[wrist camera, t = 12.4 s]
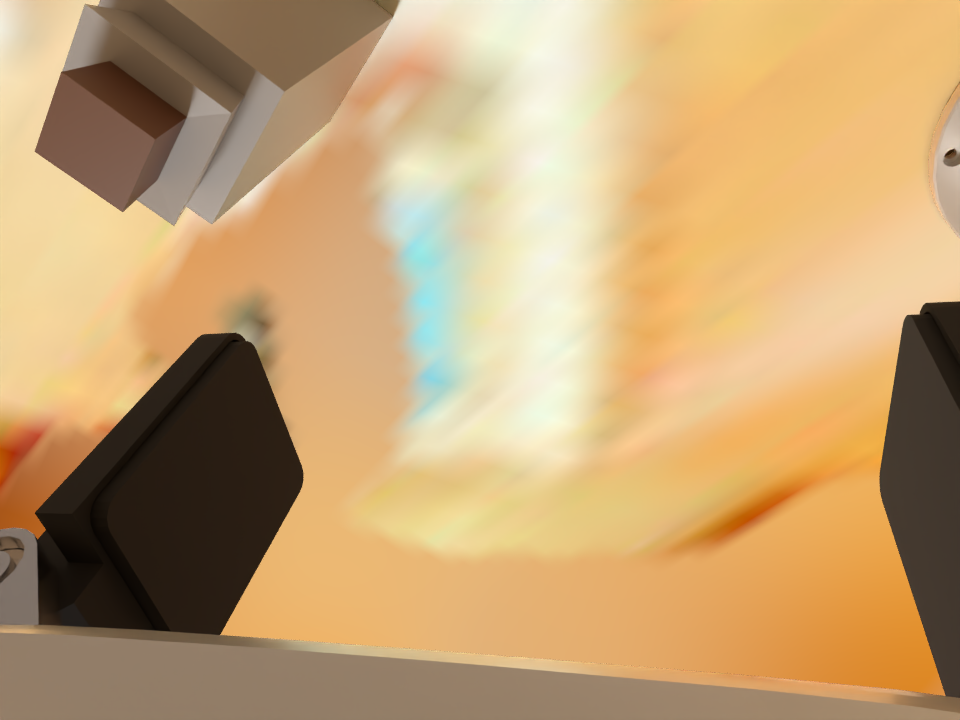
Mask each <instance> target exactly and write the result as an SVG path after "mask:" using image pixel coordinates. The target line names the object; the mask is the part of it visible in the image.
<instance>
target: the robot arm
mask: <svg viewBox="0 0 960 720" xmlns="http://www.w3.org/2000/svg"><path fill="white" fill-rule="evenodd" d="M952 149H954V151H953V153H952V154H950V155H948V156H945V154H946V153H947V152H948V151H949V150H952ZM928 162H929V184H930V188H931V191H932V195H933V199H934V202H935V204H936V206H937V208H938V210H939V211H940V213H941V215H942V217H943V218H944V220H945V222H946V223H947V224H948V225H949V227H950V228H951V229H952V230H953V231H954V233H955V234H956V235H957V237H959V238H960V83H959V85H958V86H957V88H956V90H955V91H954V93H953V94H952V96H951V98H950V99H949V101H948V102H947V104H946V106H945V107H944V109H943V111H942V114H941V116H940V119H939V121H938V124H937V126H936V129H935V131H934V134H933V138H932V143H931V148H930V154H929V159H928ZM302 484H303V469H302V465H301V463H300V460H299V458H298V455H297V453H296V450H295V448H294V445H293V442H292V440H291V437H290V435H289V432H288V430H287V427H286V425H285V422H284V420H283V417H282V414H281V412H280V409H279V407H278V404H277V402H276V399H275V397H274V394H273V391H272V389H271V386H270V384H269V381H268V379H267V376H266V374H265V371H264V369H263V366H262V363H261V361H260V358H259V356H258V353H257V351H256V349H255V347H254V345H253V344H252V343H251V342H248V341H245V339H244V338H243V337H242V336H241V335H240V334H237V333H221V334H204V335H201V336H200V337H198V338H197V339H196V340H195V341H194V342H193V343H192V345H190V347H189V348H188V349H187V350H186V351H185V352H184V353H183V354H182V355H181V356H180V357H179V358H178V359H177V361H176V362H175V363H174V364H173V365H172V366H171V367H170V368H169V369H168V370H167V371H166V372H165V373H164V374H163V376H162V377H161V378H160V379H159V380H158V381H157V382H156V383H155V384H154V385H153V386H152V387H151V388H150V390H149V391H148V392H147V393H146V394H145V395H144V396H143V397H142V398H141V399H140V400H139V401H138V402H137V403H136V405H135V406H134V407H133V408H132V409H131V410H130V411H129V412H128V413H127V414H126V415H125V416H124V417H123V419H122V420H121V421H120V422H119V423H118V424H117V425H116V426H115V427H114V428H113V429H112V430H111V431H110V433H109V434H108V435H107V436H106V437H105V438H104V439H103V440H102V441H101V442H100V443H99V444H98V445H97V446H96V448H95V449H94V450H93V451H92V452H91V453H90V454H89V455H88V456H87V457H86V458H85V459H84V460H83V462H82V463H81V464H80V465H79V466H78V467H77V468H76V469H75V470H74V471H73V472H72V474H70V475H69V477H68V478H67V479H66V480H65V481H64V482H63V483H62V484H61V485H60V486H59V487H58V489H57V490H56V491H55V492H54V493H53V494H52V495H51V496H50V497H49V498H48V499H47V500H46V501H45V502H44V503H43V505H42V506H41V507H40V508H39V509H38V510H37V511H36V512H35V514H36V515H37V517H38V518H39V520H40V521H41V523H42V524H43V526H44V527H45V529H46V531H45V532H44V533H43V534H42V535H41V536H40V538H39V539H38V540H37V538H36V537H35V535H34V534H32V533H31V532H29V531H28V530H26V529H20V528H9V529H2V530H0V720H960V302H937V303H925V304H924V305H923V307H922V309H921V311H920V315H907V316H906V318H905V320H904V323H903V328H902V334H901V340H900V347H899V353H898V360H897V366H896V372H895V379H894V385H893V392H892V398H891V404H890V411H889V417H888V424H887V430H886V436H885V443H884V449H883V456H882V462H881V468H880V492H881V497H882V501H883V505H884V508H885V511H886V514H887V517H888V520H889V523H890V526H891V529H892V532H893V535H894V538H895V541H896V545H897V547H898V551H899V554H900V557H901V560H902V563H903V566H904V569H905V572H906V575H907V578H908V581H909V584H910V588H911V591H912V594H913V597H914V600H915V603H916V606H917V609H918V612H919V615H920V618H921V621H922V624H923V627H924V630H925V634H926V637H927V640H928V643H929V646H930V649H931V652H932V655H933V658H934V661H935V664H936V667H937V670H938V673H939V677H940V680H941V683H942V686H943V689H944V691H945V695H946V696H941V695H933V694H926V693H918V692H910V691H903V690H895V689H885V688H874V687H864V686H854V685H843V684H833V683H822V682H811V681H801V680H791V679H780V678H769V677H759V676H749V675H738V674H725V673H713V672H701V671H688V670H675V669H663V668H651V667H638V666H625V665H613V664H601V663H588V662H575V661H563V660H551V659H538V658H526V657H525V658H524V657H513V656H500V655H486V654H473V653H460V652H446V651H433V650H420V649H407V648H393V647H378V646H366V645H352V644H339V643H325V642H311V641H298V640H283V639H268V638H253V637H239V636H225V635H220V634H221V632H222V631H223V629H224V627H225V625H226V623H227V621H228V619H229V618H230V616H231V614H232V613H233V611H234V609H235V607H236V605H237V603H238V602H239V600H240V598H241V596H242V595H243V593H244V591H245V589H246V587H247V586H248V584H249V582H250V580H251V578H252V576H253V575H254V573H255V571H256V569H257V568H258V566H259V564H260V562H261V560H262V558H263V557H264V555H265V553H266V552H267V550H268V548H269V546H270V544H271V543H272V541H273V539H274V537H275V535H276V533H277V532H278V530H279V528H280V526H281V525H282V522H283V521H284V519H285V517H286V516H287V514H288V512H289V510H290V508H291V507H292V505H293V503H294V501H295V499H296V498H297V496H298V494H299V492H300V490H301V488H302Z"/></svg>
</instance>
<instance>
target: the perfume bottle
mask: <svg viewBox="0 0 960 720" xmlns="http://www.w3.org/2000/svg"><path fill="white" fill-rule="evenodd" d="M392 18H393V16H392V15H391V14H389V13H388V12H387V11H386V10H384V9H383V8H382V7H381V6H380V5H378V4H377V3H376V2H375V1H373V0H100V2H99V5H98V6H94V5H88V4H85V5H84V8H83V11H82V14H81V17H80V20H79V23H78V26H77V29H76V32H75V35H74V38H73V41H72V44H71V47H70V50H69V53H68V56H67V59H66V62H65V65H64V68H63V71H62V72H61V75H60V78H59V81H58V84H57V87H56V90H55V93H54V95H53V98H52V101H51V104H50V107H49V110H48V113H47V116H46V119H45V122H44V125H43V128H42V131H41V134H40V137H39V140H38V143H37V146H36V149H35V152H36V153H38V154H39V155H40V156H42V157H43V158H45V159H46V160H48V161H49V162H51V163H52V164H53V165H55V166H56V167H58V168H59V169H61V170H62V171H64V172H65V173H67V174H68V175H69V176H71V177H72V178H74V179H75V180H77V181H78V182H80V183H81V184H83V185H84V186H85V187H87V188H88V189H90V190H91V191H93V192H94V193H96V194H97V195H99V196H100V197H101V198H103V199H104V200H106V201H107V202H109V203H110V204H112V205H113V206H114V207H116V208H117V209H119V210H120V211H122V212H123V211H125V210H126V209H127V208H128V207H129V206H130V205H131V204H132V203H133V202H134V201H135V200H137V201H139V202H140V203H142V204H143V205H145V206H146V207H148V208H149V209H150V210H152V211H153V212H155V213H156V214H158V215H159V216H160V217H162V218H163V219H165V220H166V221H168V222H169V223H171V224H172V225H173V226H174V225H175V224H176V222H177V220H178V219H179V217H180V215H181V214H182V212H183V210H184V209H185V207H188V208H189V209H191V210H192V211H193V212H195V213H196V214H198V215H199V216H201V217H202V218H203V219H205V220H206V221H208V222H209V223H211V224H213V223H214V222H215V221H216V220H217V219H219V218H220V217H221V216H222V215H223V214H224V213H225V212H227V211H228V210H229V209H230V208H231V207H232V206H233V205H235V204H236V203H237V202H238V201H239V200H240V199H241V198H243V197H244V196H245V195H246V194H247V193H248V192H249V191H251V190H252V189H253V188H254V187H255V186H256V185H257V184H259V183H260V182H261V181H262V180H263V179H264V178H265V177H267V176H268V175H269V174H270V173H271V172H272V171H274V170H275V169H276V168H277V167H278V166H279V165H280V164H282V163H283V162H284V161H285V160H286V159H287V158H288V157H290V156H291V155H292V154H293V153H294V152H295V151H296V150H298V149H299V148H300V147H301V146H302V145H303V144H304V143H306V142H307V141H308V140H309V139H310V138H311V137H312V136H314V135H315V134H316V133H317V132H318V131H319V130H320V129H322V128H323V127H324V126H325V125H326V124H327V123H328V122H330V120H331V119H332V117H333V115H334V114H335V112H336V110H337V109H338V107H339V105H340V104H341V102H342V100H343V99H344V97H345V95H346V94H347V92H348V91H349V89H350V87H351V86H352V84H353V82H354V81H355V79H356V77H357V76H358V74H359V72H360V71H361V69H362V67H363V66H364V64H365V63H366V61H367V59H368V58H369V56H370V54H371V53H372V51H373V49H374V48H375V46H376V44H377V43H378V41H379V39H380V38H381V36H382V35H383V33H384V31H385V30H386V28H387V26H388V25H389V23H390V21H391V20H392Z"/></svg>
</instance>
